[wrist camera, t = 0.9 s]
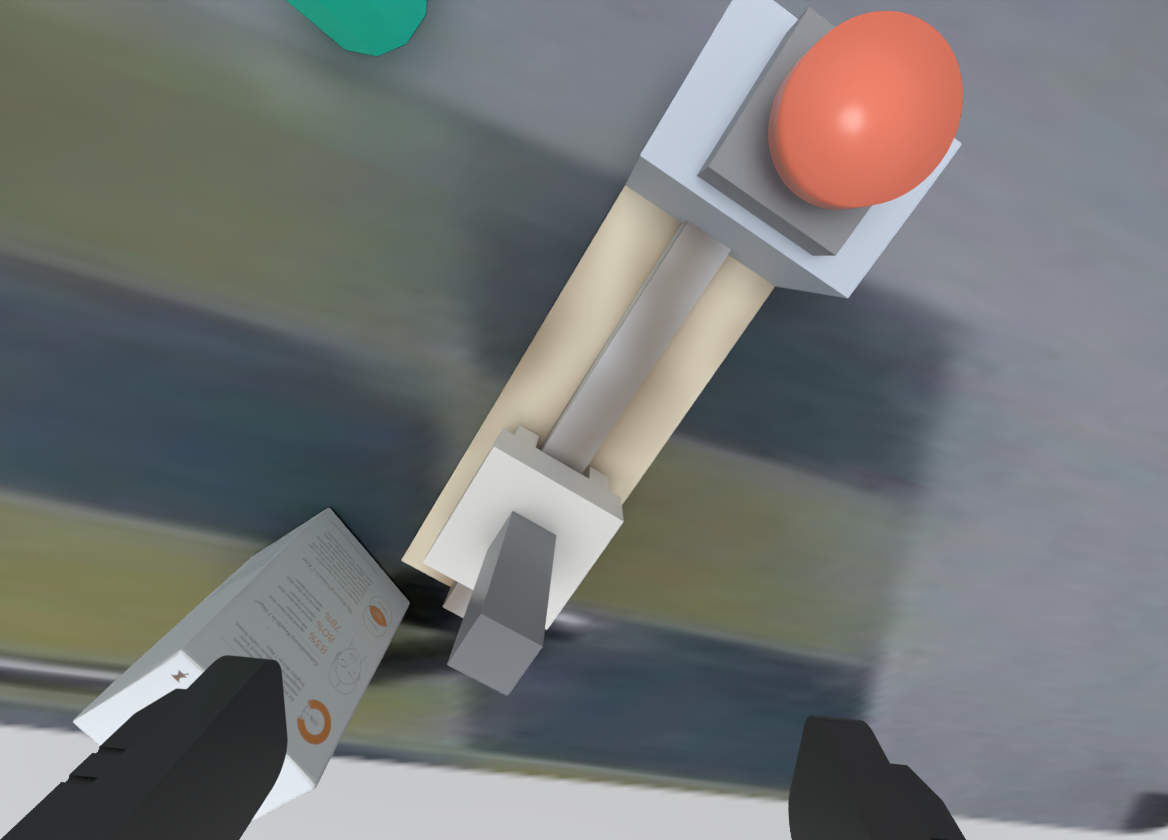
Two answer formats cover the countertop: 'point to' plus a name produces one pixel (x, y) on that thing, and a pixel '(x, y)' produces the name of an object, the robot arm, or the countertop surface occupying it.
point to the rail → (583, 342)
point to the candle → (365, 22)
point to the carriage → (520, 552)
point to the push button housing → (759, 161)
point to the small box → (279, 643)
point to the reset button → (866, 112)
